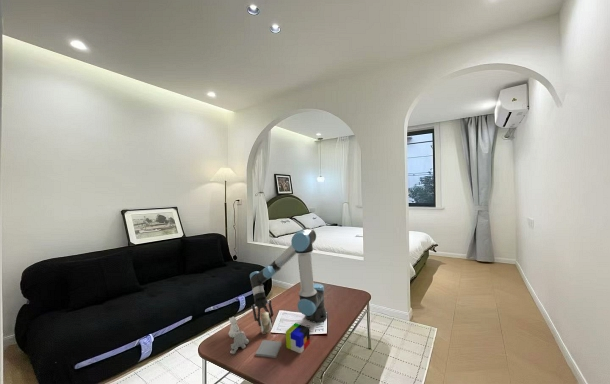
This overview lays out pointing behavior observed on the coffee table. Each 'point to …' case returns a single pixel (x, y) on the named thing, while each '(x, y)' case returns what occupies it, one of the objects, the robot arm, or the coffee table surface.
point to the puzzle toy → (297, 337)
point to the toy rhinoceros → (239, 342)
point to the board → (268, 348)
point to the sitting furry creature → (234, 327)
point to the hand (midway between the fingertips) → (266, 329)
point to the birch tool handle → (265, 322)
